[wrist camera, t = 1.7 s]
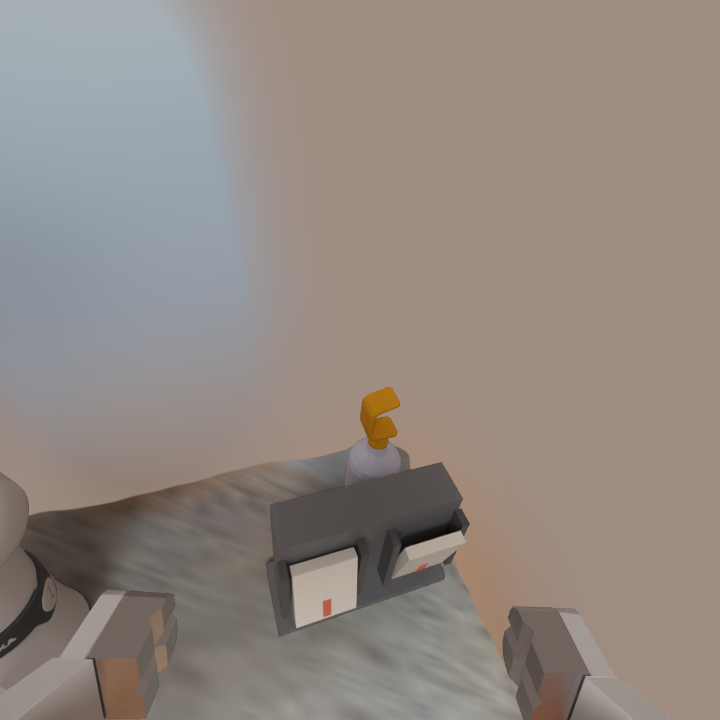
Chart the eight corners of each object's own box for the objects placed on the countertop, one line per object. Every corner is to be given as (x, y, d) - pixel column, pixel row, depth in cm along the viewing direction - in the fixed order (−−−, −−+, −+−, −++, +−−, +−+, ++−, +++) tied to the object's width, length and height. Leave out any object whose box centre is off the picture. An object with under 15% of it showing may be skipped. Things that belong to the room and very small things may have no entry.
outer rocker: (392, 580, 59) (409, 562, 52) (387, 567, 60) (404, 547, 53) (442, 563, 62) (466, 543, 54) (437, 551, 63) (460, 530, 55)
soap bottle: (400, 508, 76) (426, 413, 60) (352, 520, 73) (366, 424, 58) (383, 467, 82) (403, 372, 67) (338, 477, 80) (347, 380, 64)
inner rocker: (296, 629, 53) (292, 578, 48) (293, 616, 55) (289, 566, 50) (356, 608, 56) (358, 558, 51) (352, 597, 57) (353, 546, 52)
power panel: (279, 639, 58) (274, 573, 46) (266, 566, 66) (258, 492, 53) (444, 581, 67) (478, 512, 54) (416, 522, 74) (441, 449, 61)
